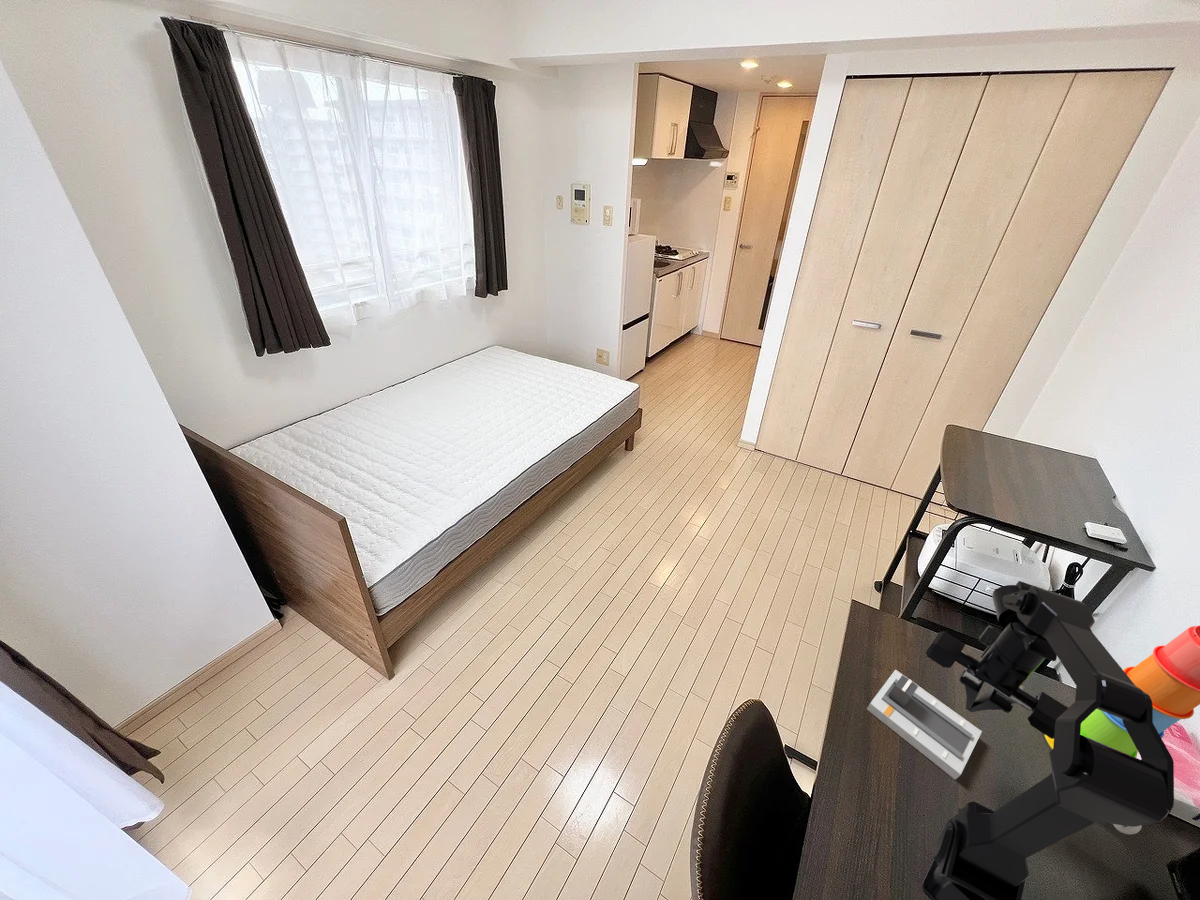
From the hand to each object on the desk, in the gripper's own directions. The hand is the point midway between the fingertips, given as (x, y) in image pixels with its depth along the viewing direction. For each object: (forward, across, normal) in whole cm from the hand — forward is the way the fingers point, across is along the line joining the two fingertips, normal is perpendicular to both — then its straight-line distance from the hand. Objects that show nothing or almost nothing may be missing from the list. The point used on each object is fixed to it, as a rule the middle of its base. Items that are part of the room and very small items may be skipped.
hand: (969, 708), depth 84 cm
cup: (+12, -21, -10) cm, 26 cm away
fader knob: (+9, +9, -2) cm, 13 cm away
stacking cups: (+12, -17, -20) cm, 29 cm away
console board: (+12, +4, -2) cm, 12 cm away
